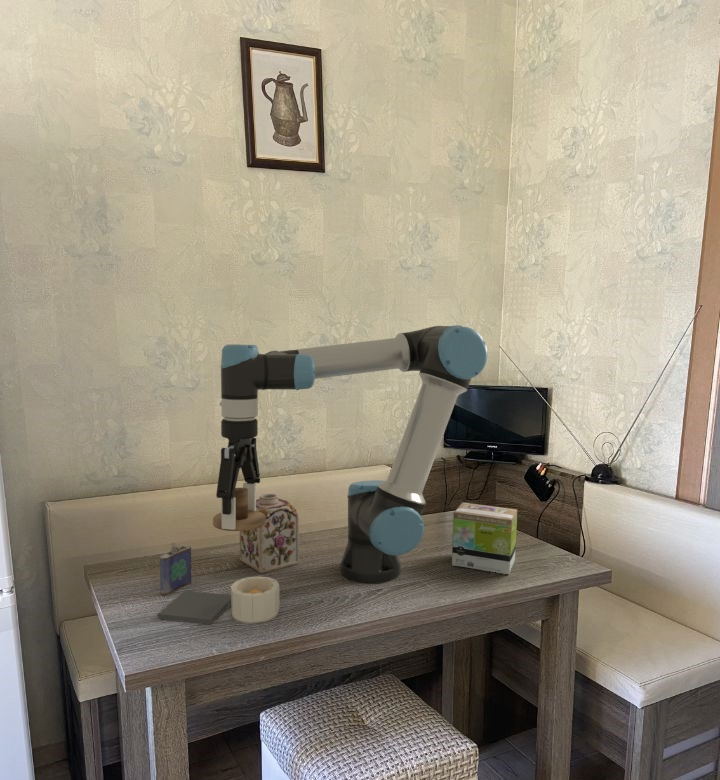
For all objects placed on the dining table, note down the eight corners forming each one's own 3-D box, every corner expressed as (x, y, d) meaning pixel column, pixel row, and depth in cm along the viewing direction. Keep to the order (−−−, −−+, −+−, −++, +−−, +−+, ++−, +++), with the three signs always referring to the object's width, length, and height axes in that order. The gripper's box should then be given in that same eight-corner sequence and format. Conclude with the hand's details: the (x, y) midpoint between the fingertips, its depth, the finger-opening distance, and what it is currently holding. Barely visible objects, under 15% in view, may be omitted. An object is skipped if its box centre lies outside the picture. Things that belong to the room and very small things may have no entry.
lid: (272, 517, 138) (272, 485, 137) (254, 533, 127) (254, 498, 126) (225, 513, 140) (225, 481, 139) (204, 528, 129) (204, 494, 128)
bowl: (284, 604, 139) (284, 578, 138) (269, 625, 129) (269, 597, 129) (242, 600, 141) (242, 574, 140) (224, 620, 131) (223, 593, 131)
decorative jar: (260, 575, 156) (259, 504, 154) (238, 561, 165) (237, 494, 163) (300, 564, 163) (300, 496, 161) (277, 551, 172) (277, 487, 170)
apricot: (267, 605, 137) (267, 587, 136) (260, 613, 133) (260, 595, 132) (250, 603, 137) (249, 585, 137) (243, 611, 134) (242, 593, 133)
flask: (165, 596, 143) (164, 551, 142) (156, 593, 144) (155, 548, 143) (194, 582, 151) (193, 539, 150) (185, 580, 152) (184, 537, 151)
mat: (234, 599, 142) (234, 595, 141) (211, 624, 130) (211, 619, 130) (185, 594, 144) (185, 590, 144) (158, 618, 132) (158, 613, 132)
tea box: (451, 567, 162) (452, 511, 160) (459, 554, 171) (461, 501, 169) (510, 576, 156) (512, 518, 154) (516, 562, 165) (517, 507, 164)
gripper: (243, 410, 143) (243, 504, 145) (198, 425, 120) (198, 536, 123) (274, 411, 142) (274, 506, 144) (234, 427, 119) (234, 539, 121)
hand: (239, 520), depth 133 cm, fingers closed on lid, 11 cm apart
